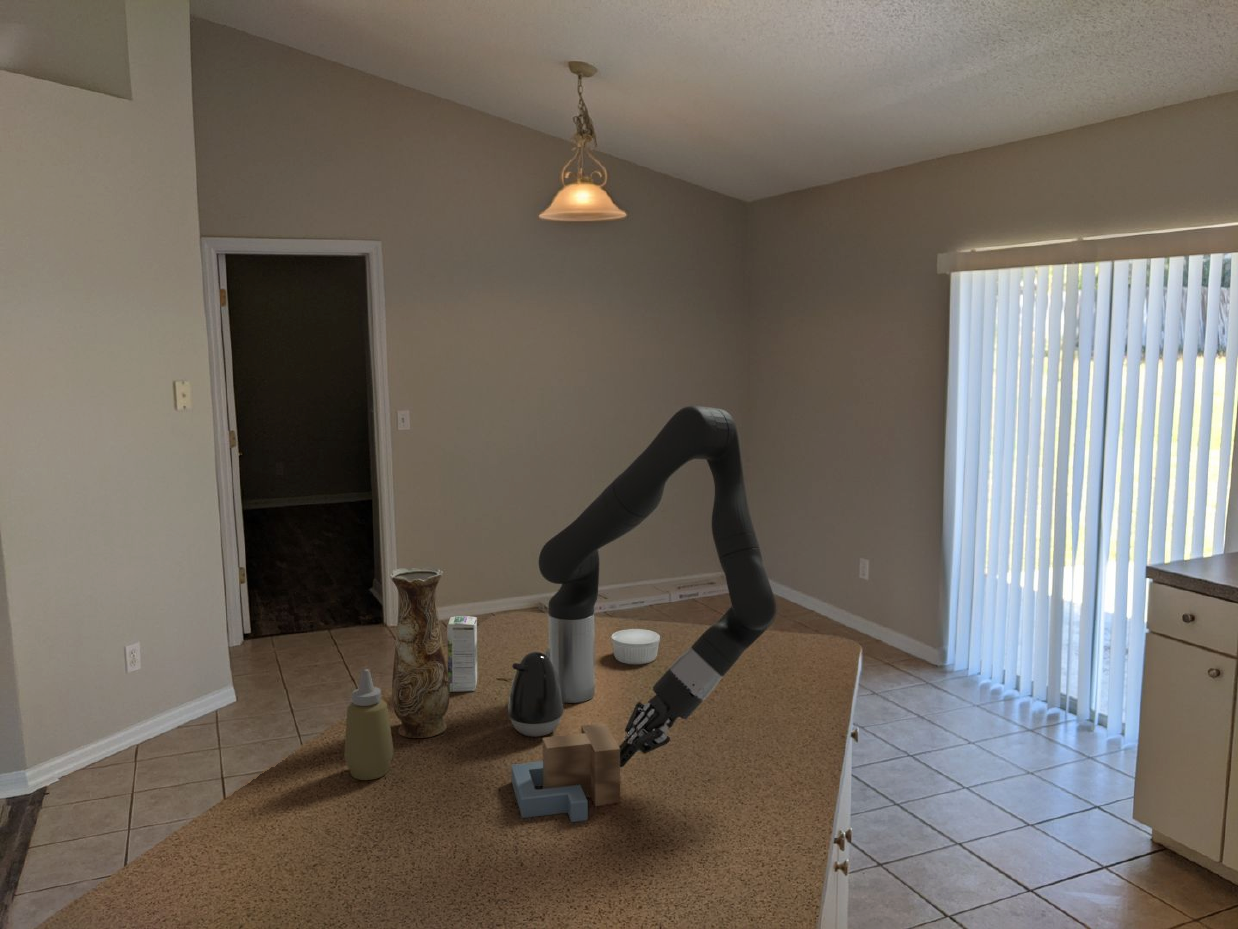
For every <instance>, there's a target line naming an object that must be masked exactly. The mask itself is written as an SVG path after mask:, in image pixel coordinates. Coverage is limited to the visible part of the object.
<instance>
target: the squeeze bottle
mask: <svg viewBox="0 0 1238 929" xmlns="http://www.w3.org/2000/svg"><path fill="white" fill-rule="evenodd" d="M351 696H352V702H351V703H350V704H349V705H347V707H346V709H347V710H346V711H347V712H346V724H345V737H344V738H345V741H344V754H343V755H344V756H343V757H344V760H345V762H346V765H347V767H348V770H349V772H350V775H351V776H352V777H353V778H354V779H356V780H359V781H371V780H372V781H373V780H375V779H378V778H382V777H384V776H385V775H386V774H387V773H388V771H389V768H390V763H391V761H392V758H393V754H394V745H393V744H394V742H393V737H392V730H391V724H390V722H391V721H390V718H389V717H390V715H389V710H388V703H387V702H386V701H385V700H383V699H382V691H381V688H379V687H376V686H374V683H373V679H372V675H371V672H370V669H368V668H366V669H362V671H361V675H360V680H359V686H358V688H357V689H355V690H353V691H352V695H351Z"/></svg>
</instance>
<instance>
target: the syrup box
mask: <svg viewBox="0 0 1238 929" xmlns="http://www.w3.org/2000/svg"><path fill="white" fill-rule="evenodd" d="M446 627H447V628H446V629H447V630H446V632H447V633H446V634H447V635H446V636H447V639H446V640H447V643H446V644H447V650H446V652H447V672H448V679H449V693H451V692H452V693H455V692H456V693H457V692H458V693H459V692H475V691H476V688H477V683H478V617H476V616H468V615H467V616H466V615H461V616H460V615H459V616H457V615H456V616H451V617H450V618H449V620H448V624H447V626H446Z"/></svg>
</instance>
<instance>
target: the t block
mask: <svg viewBox="0 0 1238 929" xmlns="http://www.w3.org/2000/svg"><path fill="white" fill-rule="evenodd" d="M580 728H581V730H580V732H581V733H575V734H564V735H555V736H548V737H542V761H543V786H542V789H548V788H556V787H565V786H573V785H581V788H582V790H583V792H584V795H585V797H589V798H591V800H592V802H593V804H595V805H594V806H595V807H600V806H601V805H602V806H607V805H606V804H609V805H615V804H614V803H617V804H621V767H620V748H619V746H620V745H619V744H618V743H617V741H616V739H615V737H614V736H613V734H612V733H611V731H610V729H609V728H608V726H607V724H606V723H593V724H586V725H581V727H580Z"/></svg>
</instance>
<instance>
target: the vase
mask: <svg viewBox="0 0 1238 929" xmlns="http://www.w3.org/2000/svg"><path fill="white" fill-rule="evenodd" d="M443 574H444V572H443V570H441V568H438V567H436V566H435V567H434V566H425V567H423V568H422V569H420V568H417V567H413V568H411V569H410V570H408V569H407V568H397V569H394V570H392V571H391V573H390V574H389V577H390V579H391V581H392V582H393V584H394V585H395V587H396V589H397V592H398V606H397V610H398V611H397V623H396V635H395V636H396V637H395V638H396V639H395V646H394V647H395V648H394V660H393V671H392V679H391V680H392V684H391V686H392V687H391V693H392V694H391V695H392V696H391V698H392V704H393V705H392V707H393V711H394V714H395V716H396V717H397V718H398V719H399V721H401V724H400V726H399V728H398V734H399V735H401V737H405V738H408V739H425V738H431V737H434V736H437V735H441V733H443V732H445V731H446V729H447V724H446V722H445V721H444V718H443V717H444V716H445V715H446V714H447V711H448V710H449V705H450V692H449V679H448V665H447V662H446V656H445V650H444V643H443V639H442V638H443V637H442V632H441V627H440V621H439V613H438V612H439V611H438V606H437V599H436V596H437V595H436V590H437V586H438V584H439V582H440V580H441V578H442V576H443Z"/></svg>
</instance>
